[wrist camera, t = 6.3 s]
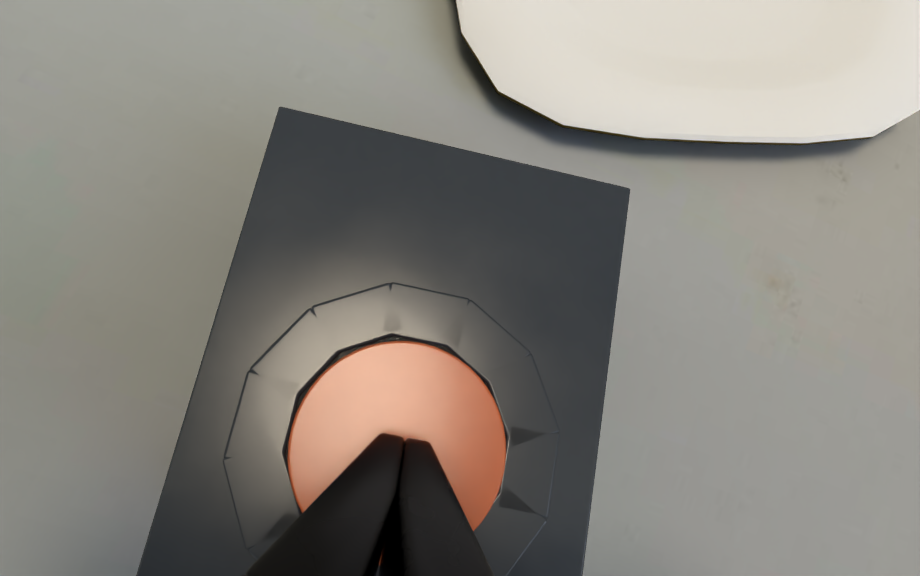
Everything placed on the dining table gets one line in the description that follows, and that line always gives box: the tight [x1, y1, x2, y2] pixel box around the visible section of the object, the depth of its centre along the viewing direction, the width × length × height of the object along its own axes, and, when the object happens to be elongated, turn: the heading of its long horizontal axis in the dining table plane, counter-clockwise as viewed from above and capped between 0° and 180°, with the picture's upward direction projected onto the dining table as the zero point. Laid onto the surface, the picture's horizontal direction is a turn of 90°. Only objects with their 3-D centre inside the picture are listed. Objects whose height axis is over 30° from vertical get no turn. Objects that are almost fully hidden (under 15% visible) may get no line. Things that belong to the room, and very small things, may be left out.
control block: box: [136, 107, 630, 576], centre depth 16 cm, size 12×10×8 cm
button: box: [288, 341, 506, 566], centre depth 11 cm, size 4×4×2 cm
